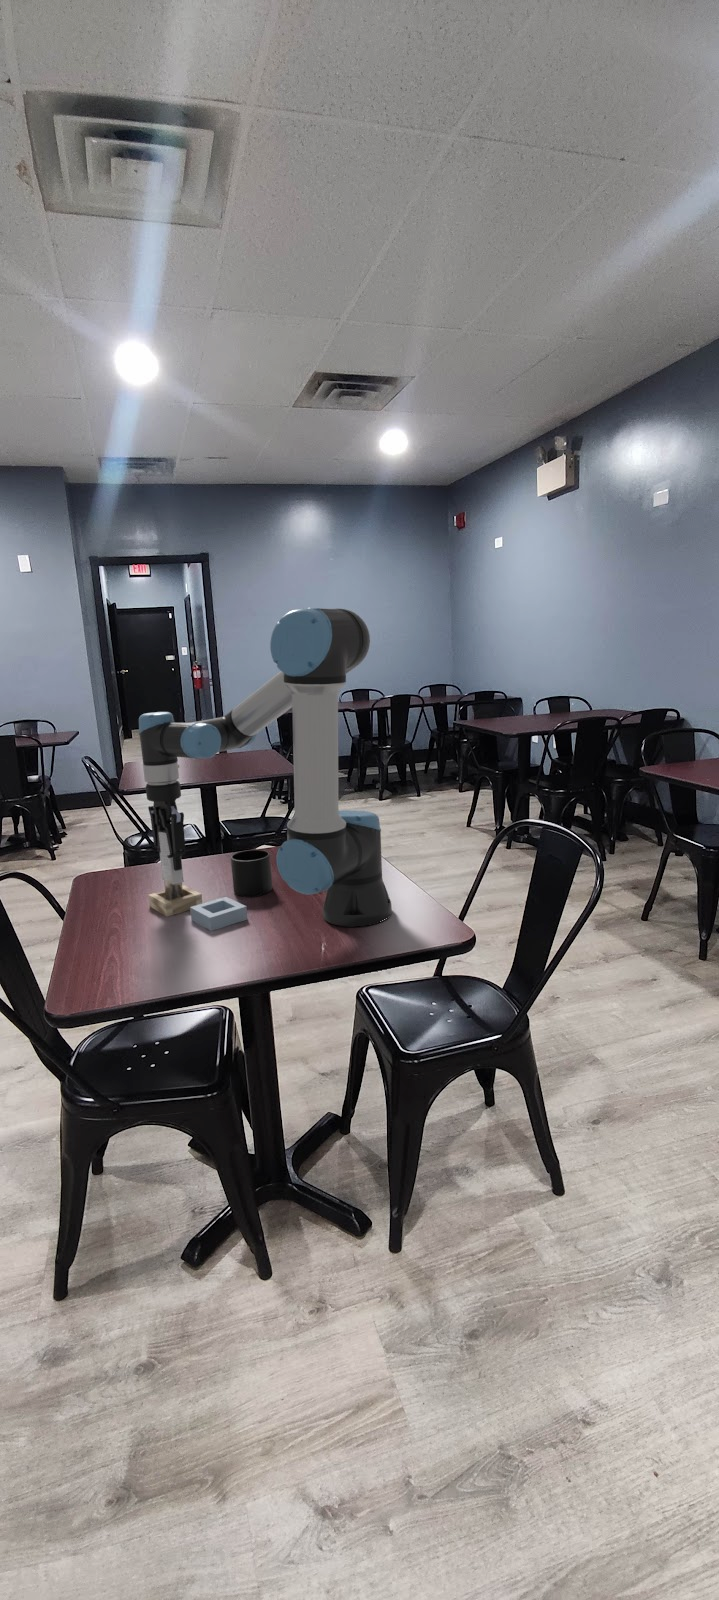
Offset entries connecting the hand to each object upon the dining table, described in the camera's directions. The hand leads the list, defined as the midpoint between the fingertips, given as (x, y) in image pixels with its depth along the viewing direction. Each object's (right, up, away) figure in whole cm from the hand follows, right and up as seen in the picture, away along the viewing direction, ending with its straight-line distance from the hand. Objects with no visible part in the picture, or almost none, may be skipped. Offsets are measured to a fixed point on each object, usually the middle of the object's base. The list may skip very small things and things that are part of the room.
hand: (173, 880), depth 167 cm
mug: (+17, -4, +11) cm, 20 cm away
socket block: (+12, -8, -8) cm, 17 cm away
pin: (0, -4, +1) cm, 4 cm away
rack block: (0, -6, +1) cm, 6 cm away
